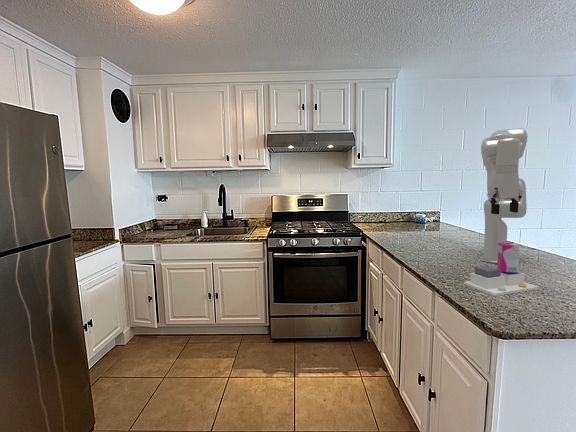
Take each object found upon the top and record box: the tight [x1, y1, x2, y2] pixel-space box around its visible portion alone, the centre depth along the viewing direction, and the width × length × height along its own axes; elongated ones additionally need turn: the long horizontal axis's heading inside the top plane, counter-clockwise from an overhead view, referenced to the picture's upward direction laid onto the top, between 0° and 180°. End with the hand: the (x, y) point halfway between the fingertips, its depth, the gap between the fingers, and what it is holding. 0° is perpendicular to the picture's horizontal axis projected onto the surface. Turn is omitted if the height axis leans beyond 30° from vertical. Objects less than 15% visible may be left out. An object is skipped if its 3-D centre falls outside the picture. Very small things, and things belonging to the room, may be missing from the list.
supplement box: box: [496, 241, 520, 274], centre depth 127 cm, size 6×6×12 cm
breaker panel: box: [464, 271, 540, 297], centre depth 125 cm, size 21×14×5 cm, turn 105°
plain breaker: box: [474, 265, 501, 278], centre depth 125 cm, size 6×6×4 cm
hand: (504, 213), depth 129 cm, fingers open, 9 cm apart
